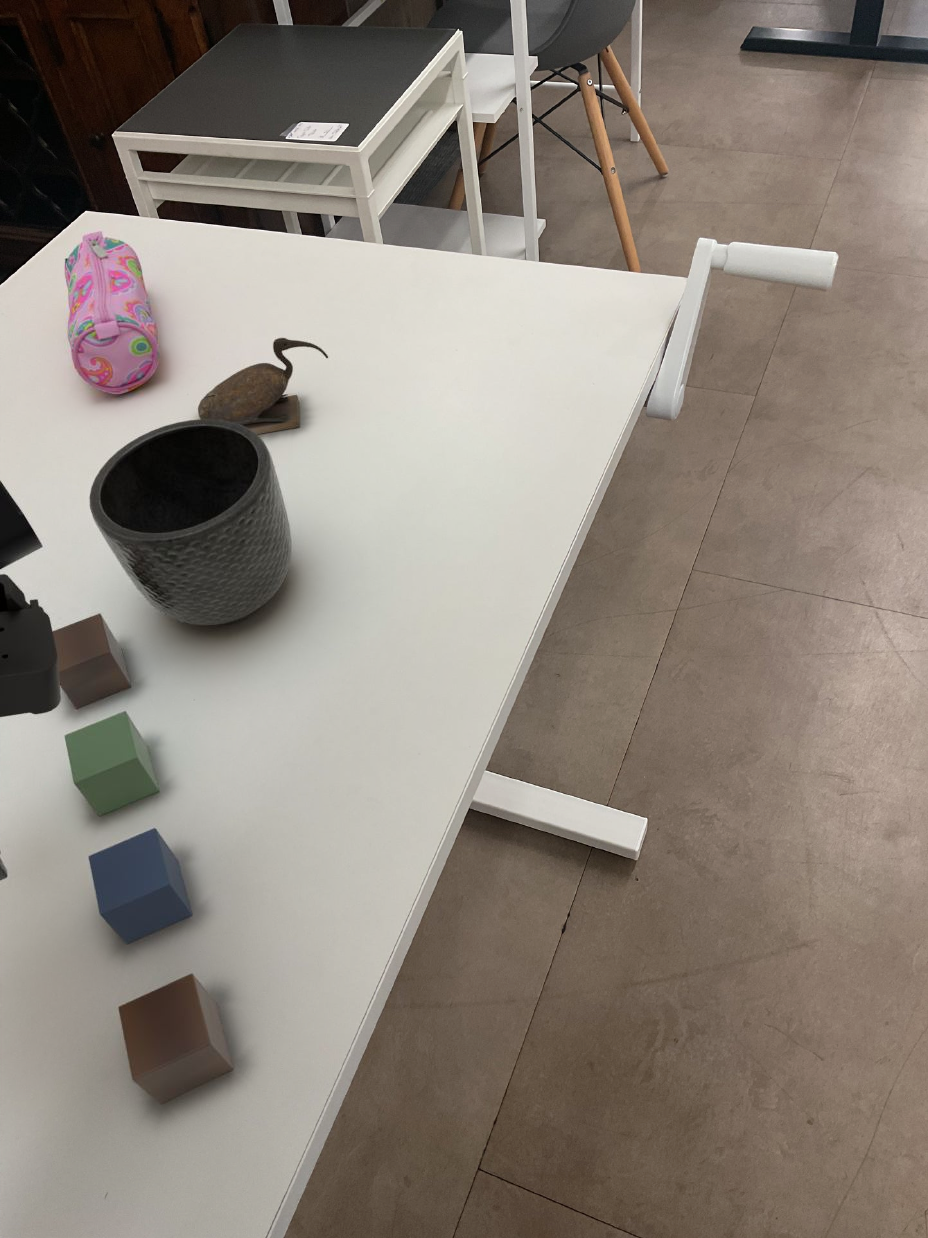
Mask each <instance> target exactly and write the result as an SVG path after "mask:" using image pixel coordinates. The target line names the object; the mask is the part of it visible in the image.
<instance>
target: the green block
mask: <svg viewBox="0 0 928 1238" xmlns="http://www.w3.org/2000/svg"><path fill="white" fill-rule="evenodd" d="M64 740H65V746H66V750H67V756H68V761H69V766H70V772H71V777H72V781H73V784H74V786H75V787H76V788H77V789H78V791H79V792H80V793H81V795H82V796H83V797H84V798H85V801H87V803H88V804H89V805H90V806H91V808H92V809H93V810H94V812H95V813H96V815H98V816H99V817H101V816H104V815H106V814H108V813H110V812H113V811H115V810H118V809H120V808H123V807H125V806H127V805H130V804H133V803H135V802H137V801H140V800H142V799H144V798H147V797H149V796H151V795H154V794H156V793H158V792H160V789H159V783H158V780H157V777H156V772H155V769H154V766H153V762H152V757H151V754H150V750H149V747H148V744H147V742H146V740H145V739H144V738H143V736H142V735H141V733H140V731H139V730H138V728H137V727H136V725H135V723H134V722H133V721H132V719H131V718H130V716H129V714H128V713H127V711H126V710H124V711H122V712H119V713H117V714H115V715H112V716H109V717H107V718H104V719H102V720H99V721H96V722H95V723H91V724H89V725H87V726H84V727H81V728H80V729H76V730H75V731H72V732H69V733H66V734H64Z"/></svg>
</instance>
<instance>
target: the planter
mask: <svg viewBox="0 0 928 1238" xmlns="http://www.w3.org/2000/svg"><path fill="white" fill-rule="evenodd" d="M280 485H281V484H280V481H279V478H278V474H277V471H276V467H275V464H274V461H273V457H272V455H271V452H270V450H269V448H268V447H267V445H266V443H265V442H264V440H263V439H262V438H261V437H260V436H259V434H256V433H254V432H253V431H252V430H250V429H249V428H246V427H244V426H242V425H240V424H237V423H233V422H230V421H223V420H216V419H200V418H199V419H190V420H184V421H178V422H174V423H170V424H167V425H164V426H161V427H159V428H155V429H153V430H151V431H149V432H146V433H144V434H142V435H140V436H138V437H137V438H135V439H133V440H132V441H129V442H128V443H127V444H125V445H124V446H123V447H121V448H120V449H118V450H117V451H116V452H115V453H114V454H113V455H111V457H110V458H109V459H108V460H107V461H106V462H105V463H104V465H102V467H101V468H100V469H99V471H98V473H97V474H96V475H95V477H94V480H93V483H92V485H91V487H90V493H89V509H90V513H91V515H92V518H93V522H94V523H95V525H96V527H97V529H98V530H99V532H100V534H101V535H102V537H103V538H104V540H105V542H106V544H107V545H108V547H109V548H110V550H111V551H112V553H113V555H114V557H115V558H116V559H117V561H118V563H119V565H120V566H121V567H122V569H123V570H124V572H125V573H126V575H127V576H128V578H129V579H130V581H131V582H132V584H133V585H134V586H135V588H136V590H137V591H138V592H139V593H140V594H141V595H142V596H143V597H144V599H145V600H146V601H148V603H149V604H151V606H153V608H155V609H156V610H157V611H159V612H160V613H162V614H163V615H165V616H166V617H168V618H170V619H173V620H175V621H178V622H181V623H185V624H189V625H193V626H194V625H195V626H225V625H226V626H227V625H232V624H235V623H239V622H241V621H244V620H245V619H247V618H249V617H251V616H253V615H254V614H256V613H257V612H259V611H260V610H261V609H262V608H263V607H264V606H265V605H266V604H267V603H268V602H269V601H270V600H271V599H272V598H273V597H274V595H275V594H276V593H277V592H278V591H279V590H280V588H281V586H282V584H283V583H284V581H285V579H286V578H287V574H288V571H289V569H290V565H291V561H292V552H293V551H292V549H293V547H292V543H293V542H292V534H291V533H292V532H291V526H290V521H289V516H288V513H287V508H286V504H285V501H284V495H283V493H282V488H281V486H280Z"/></svg>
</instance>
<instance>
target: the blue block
mask: <svg viewBox="0 0 928 1238" xmlns="http://www.w3.org/2000/svg"><path fill="white" fill-rule="evenodd" d="M88 862H89V868H90V872H91V877H92V882H93V886H94V887H93V888H94V891H95V892H94V893H95V897H96V902H97V907H98V912H99V915H100V917H101V918H102V919H103V920H104V921H105V923H107V925H108V926H109V927H110V928H111V929H112V930H113V931H114V932H115V933H116V935H118V937H119V938H120V939H121V940H122V941H123V942H124V943H125V944H126V945H129V944H131V943H133V942H135V941H137V940H140V939H142V938H145V937H146V936H147V937H148V936H149V935H151V934H153V933H156V932H158V931H160V930H162V929H165V928H168V927H170V926H171V925H174V924H176V923H178V922H181V921H182V920H185V919H187V918H190V917H192V916H193V912H192V911H193V910H192V907H191V903H190V900H189V896H188V893H187V889H186V885H185V881H184V878H183V874H182V871H181V867H180V863H179V860H178V859H177V857H176V855H175V854H174V852H173V851H172V849H171V848H170V847H169V845H168V844H167V842H166V841H165V839H164V838H163V837H162V835H161V834H160V832H159V831H158V830H157V828H156V827H153V828H151V829H149V830H146V831H144V832H141V833H139V834H137V835H135V836H132V837H130V838H128V839H125V840H123V841H120V842H118V843H116V844H114V845H111V846H109V847H106V848H104V849H101V850H99V851H97V852H94V853H92V854H90V855H88Z"/></svg>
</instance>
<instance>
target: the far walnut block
mask: <svg viewBox="0 0 928 1238" xmlns="http://www.w3.org/2000/svg"><path fill="white" fill-rule="evenodd" d="M52 631H53V636H54V641H55V646H56V651H57V657H58V669H59V681H60V689H62V692H64V694H65V695H66V697H67V698H68V699H69V701H70V703H71V704H72V705H73V707H74V708H75V709H80V708H82V707H85V706H87V705H90V704H92V703H94V702H97V701H100V700H102V699H105V698H108V697H110V696H112V695H114V694H118V693H120V692H123V691H125V690H128V689H130V688H131V687H132V684H131V680H130V676H129V672H128V668H127V665H126V661H125V658H124V654H123V651H122V647H121V645H120V644H119V641H117V639H116V637H115V636H114V634H113V632H112V631H111V628H110V627H109V625H108V624H107V622H106V620H105V618H104V616H103V615H102V613H97V614H94V615H92V616H89V617H86V618H83V619H80V620H79V621H76V622H73V623H71V624H67V625H64V626H63V627H60V628H57V629H55V630H52Z"/></svg>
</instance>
